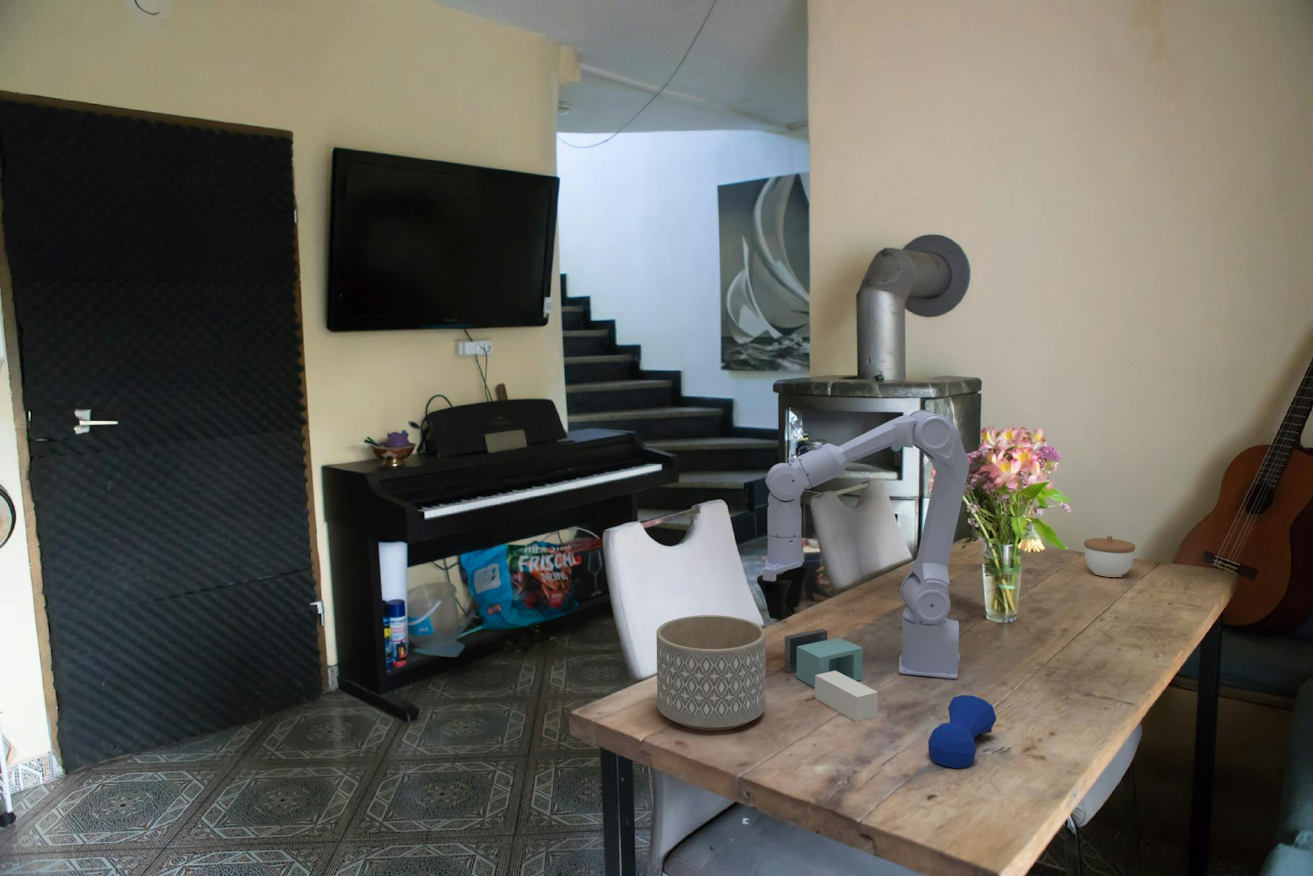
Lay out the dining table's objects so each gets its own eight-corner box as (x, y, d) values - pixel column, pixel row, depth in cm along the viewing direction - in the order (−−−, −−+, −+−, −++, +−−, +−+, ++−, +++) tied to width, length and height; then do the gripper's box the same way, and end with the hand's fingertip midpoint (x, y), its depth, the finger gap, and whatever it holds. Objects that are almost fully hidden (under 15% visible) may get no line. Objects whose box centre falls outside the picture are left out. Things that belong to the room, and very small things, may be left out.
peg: (877, 717, 133) (878, 692, 133) (856, 723, 131) (857, 697, 131) (835, 694, 142) (835, 670, 142) (814, 699, 140) (815, 675, 140)
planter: (734, 746, 124) (734, 658, 123) (636, 720, 133) (635, 638, 131) (782, 704, 138) (783, 625, 136) (691, 684, 147) (690, 609, 145)
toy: (951, 726, 131) (918, 762, 119) (953, 685, 131) (920, 717, 118) (999, 738, 127) (970, 776, 115) (1001, 695, 127) (972, 729, 115)
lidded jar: (1091, 580, 206) (1092, 540, 205) (1077, 568, 217) (1078, 530, 216) (1140, 581, 204) (1142, 541, 203) (1124, 570, 215) (1126, 531, 214)
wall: (827, 664, 155) (827, 631, 154) (789, 672, 151) (790, 638, 150) (821, 661, 156) (821, 628, 155) (784, 670, 152) (784, 636, 151)
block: (862, 679, 147) (862, 647, 147) (819, 690, 143) (819, 657, 142) (838, 667, 153) (839, 637, 152) (796, 677, 148) (796, 646, 148)
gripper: (778, 524, 159) (777, 598, 161) (745, 540, 146) (746, 620, 148) (815, 527, 156) (815, 603, 157) (786, 544, 143) (785, 626, 145)
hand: (784, 612), depth 152 cm, fingers open, 7 cm apart
